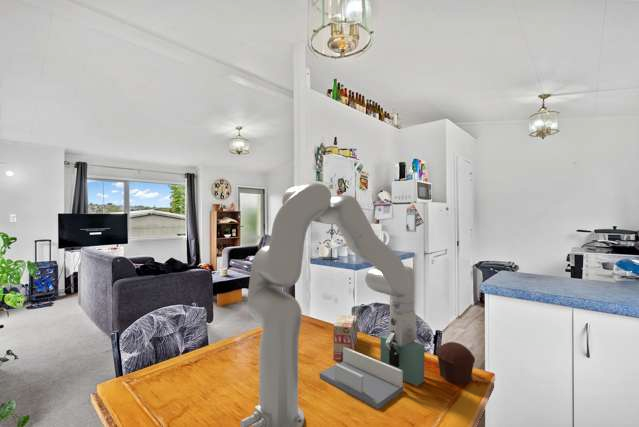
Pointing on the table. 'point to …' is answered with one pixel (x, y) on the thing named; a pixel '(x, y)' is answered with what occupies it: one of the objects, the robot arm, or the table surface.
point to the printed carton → (344, 335)
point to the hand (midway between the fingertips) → (401, 360)
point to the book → (407, 360)
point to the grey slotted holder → (365, 378)
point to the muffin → (455, 363)
